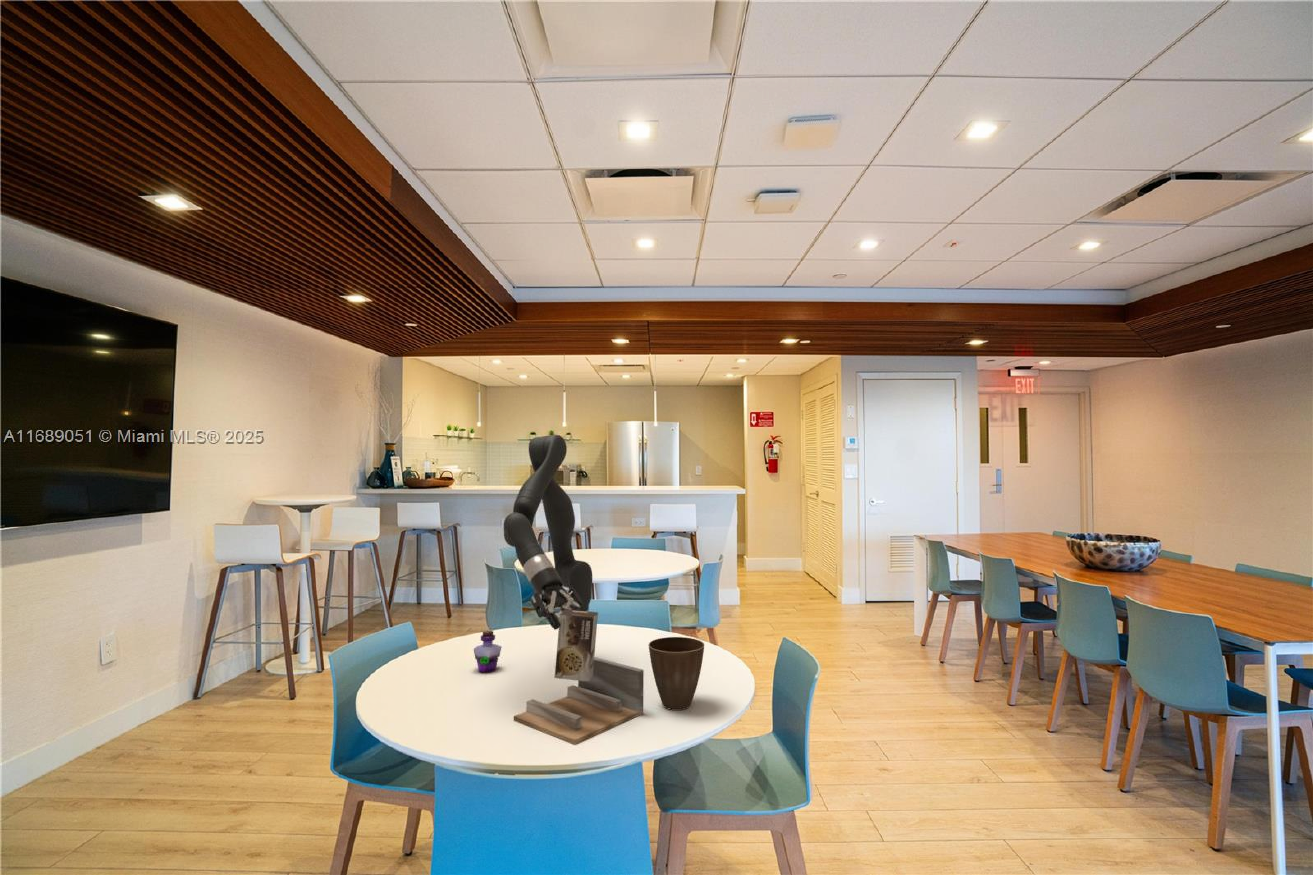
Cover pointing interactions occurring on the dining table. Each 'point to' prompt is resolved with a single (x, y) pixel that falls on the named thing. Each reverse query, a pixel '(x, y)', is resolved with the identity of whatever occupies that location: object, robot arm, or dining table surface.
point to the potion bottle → (487, 653)
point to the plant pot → (676, 669)
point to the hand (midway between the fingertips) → (570, 624)
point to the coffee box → (576, 645)
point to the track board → (590, 704)
